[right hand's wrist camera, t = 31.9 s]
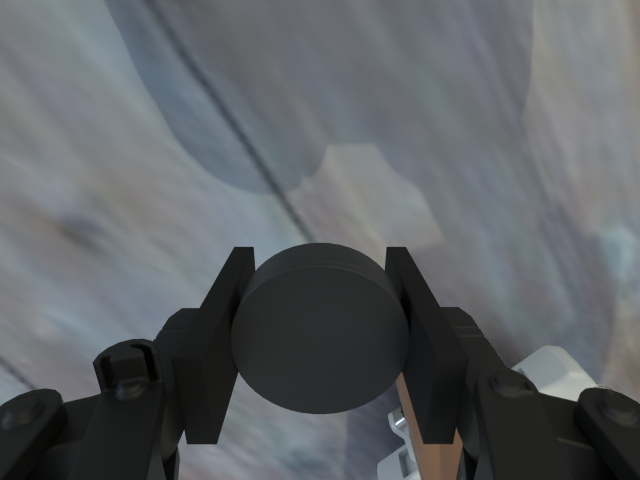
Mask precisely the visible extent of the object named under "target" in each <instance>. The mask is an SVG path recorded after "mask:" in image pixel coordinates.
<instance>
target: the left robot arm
mask: <svg viewBox="0 0 640 480" xmlns="http://www.w3.org/2000/svg"><path fill="white" fill-rule="evenodd" d="M511 369H512V370H515V371H517V372H519V373H520V374H522V375H524V376H526V377H527V378H528V379H529V380H530V381H532V382H533V383H534V385H535V386H536V388H537V389H538V391H539V392H540V393H544V394H547V395H551V396H555V397H559V398H564V399H568V400H572V401H577V400H578V397H579V395H580V393H581V392H582V391H583V390H584V389H586V388H592V387H598V388H605V389H610V388H608V387H606V386H604V385H599V384H596V383H595V382H594V381H593V379H592V378H591V377H590V376H589V375H588V374H587V373H586V372H585V371H584V370H583V369H582V367H581V366H580V365H579V364H578V363H577V362H576V361H575V360H574V359H573V358H572V357H571V356H570V355H569V354H568V353H567V352H566V351H565V350H564V349H563V348H562V347H560V346H550V345H545V346H542V347H540V348H539V349H538V350H536V351H535V352H533V353H532V354H531V355H529V356H528V357H526V358H525V359H524V360H522V361H521V362H519V363H518V364H517V365H515V366H514V367H512V368H511ZM610 390H612V389H610ZM388 419H389V423H390V427H391V429H392V430H393V432H394V433H396V434H397V435H399V436H400V437H401V438H403V439H404V440H405V444H404V445H403V446H402V447H400V448H399V449H397V450H396V451H394V452H393V453H392V454H390V455H389V456H387V457H386V458H385V459H383V460H382V461H380V462H379V463H378V466H377V476H378V480H421V479H420V475H419V471H418V467H417V463H416V460H415V456H414V452H413V448H412V444H411V440H410V437H409V433H408V429H407V425H406V421H405V417H404V414H403V410H402V406H401V405H400V406H398V407H397V408H396V409H394V410H393V411H392V412H390V413H389V414H388Z"/></svg>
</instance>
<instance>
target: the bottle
mask: <svg viewBox="0 0 640 480" xmlns="http://www.w3.org/2000/svg"><path fill="white" fill-rule="evenodd" d="M395 383H396V387H397V391H398V394H399V398H400V402H401V406H402V410H403V414H404V417H405V421H406V425H407V429H408V433H409V437H410V440H411V444H412V448H413V452H414V456H415V460H416V463H417V467H418V471H419V475H420V479H421V480H456V476H457V470H458V465H459V460H460V455H461V450H462V446H463V443H462V441H461V438H460V436H459V433H458V431H457V428H456V431H455V437H454V442H453V444H423V441H422V438H421V434H420V431H419V428H418V424H417V421H416V417H415V414H414V411H413V407H412V404H411V401H410V397H409V394H408V391H407V387H406V384H405V381H404V377H403V374H402V372H401V373H400V375H399V376H398V378H397V379H396V381H395ZM461 480H462V477H461Z"/></svg>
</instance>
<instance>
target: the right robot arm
mask: <svg viewBox="0 0 640 480" xmlns="http://www.w3.org/2000/svg"><path fill="white" fill-rule="evenodd" d="M385 272H386V274H387V275H388V276H389V278H390V279H391V281H392V283H393V285H394V287H395V289H396V292H397V294H398V297H399V299H400V302H401V305H402V307H403V310H404V312H405V315H406V318H407V320H408V323H409V329H410V342H409V351H408V358H407V361H406V364H405V366H404V368H403V370H402V374H403V377H404V381H405V384H406V387H407V391H408V394H409V397H410V401H411V404H412V407H413V411H414V414H415V417H416V421H417V424H418V428H419V431H420V434H421V438H422V441H423V444H453V442H454V437H455V431H456V428H457V431H458V433H459V436H460V438H461V441H462V443H463V446H462V450H461V455H460V460H459V465H458V470H457V476H456V480H461V477H462V480H640V404H639V403H638V402H636V401H634V400H633V399H631V398H629V397H627V396H625V395H623V394H621V393H618V392H615V391H613V390H610V389H605V388H598V387H592V388H586V389H584V390H583V391H582V392H581V393H580V395H579V397H578V400H577V401H572V400H568V399H564V398H559V397H555V396H551V395H547V394H544V393H540V392H539V391H538V389H537V388H536V386H535V385H534V383H533V382H532V381H530V380H529V379H528V378H527V377H526V376H524V375H522V374H520V373H519V372H517V371H515V370H512V369H509V368H506V366H505V365H504V364H503V362H502V361H501V359H500V358H499V356H498V355H497V353H496V352H495V351H494V349H493V348H492V346H491V345H490V343H489V342H488V340H487V339H486V338H484V335H483V333H482V332H481V330H480V329H478V326H477V324H476V323H475V321H474V320H473V319H472V317H471V316H470V315H468V314H467V313H466V312H464V311H463V310H462V309H460V308H459V307H440V306H439V304H438V303H437V301H436V299H435V297H434V296H433V294H432V292H431V290H430V289H429V287H428V285H427V283H426V282H425V280H424V278H423V276H422V275H421V273H420V271H419V269H418V268H417V266H416V264H415V262H414V261H413V259H412V257H411V255H410V254H409V252H408V250H407V248H406V247H387V249H386V263H385ZM254 273H255V260H254V247H234V249H233V250H232V252H231V254H230V256H229V257H228V259H227V261H226V263H225V264H224V266H223V268H222V270H221V271H220V273H219V275H218V277H217V278H216V280H215V282H214V284H213V285H212V287H211V289H210V291H209V292H208V294H207V296H206V298H205V299H204V301H203V303H202V305H201V306H200V308H182V309H180V310H179V311H178V312H176V313H175V314H173V315H172V316H171V317H169V319H168V320H167V322H166V323H165V325H164V326H163V328H162V330H161V331H160V332H159V333H158V335H157V336H156V339H154V341H153V342H152V341H150V340H146V339H131V340H127V341H123V342H120V343H117V344H115V345H113V346H111V347H109V348H107V349H106V350H104V351H103V352H102V353H100V354H99V355H98V356H97V358H96V359H95V360H94V362H93V365H94V369H95V372H96V376H97V379H98V383H99V386H100V389H101V394H98V395H95V396H91V397H87V398H83V399H79V400H74V401H70V402H66V403H64V402H63V400H62V397H61V394H60V393H58V392H57V391H56V390H52V389H46V388H45V389H39V390H32V391H30V392H27V393H24V394H21V395H18V396H16V397H15V398H13V399H11V400H9V401H7V402H6V403H4V404H3V405H1V406H0V480H178V474H179V463H180V457H179V450H178V446H177V445H178V443H179V440H180V438H181V436H182V433H183V431H184V430H185V435H186V441H187V444H217V442H218V438H219V435H220V432H221V428H222V425H223V422H224V418H225V415H226V411H227V408H228V405H229V401H230V398H231V395H232V391H233V388H234V385H235V381H236V378H237V374H238V370H237V368H236V365H235V363H234V361H233V357H232V349H231V339H230V329H231V325H232V321H233V318H234V315H235V313H236V310H237V308H238V305H239V303H240V300H241V298H242V295H243V293H244V290H245V288H246V285H247V283H248V281H249V280H250V278H251V276H252V275H253V274H254Z"/></svg>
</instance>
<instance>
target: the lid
mask: <svg viewBox="0 0 640 480" xmlns="http://www.w3.org/2000/svg"><path fill="white" fill-rule="evenodd" d="M230 339H231V349H232V357H233V361H234V363H235V365H236V368H237V370H238V371H239V373H240V375H241V376H242V378H243V379H244V380H245V381H246V383H247V384H248V385H249V386H250V387H251V388H252V389H253V390H254V391H255V392H257V393H258V394H259V395H261V396H262V397H263V398H265V399H267V400H268V401H270V402H272V403H274V404H276V405H278V406H280V407H283V408H286V409H289V410H292V411H297V412H301V413H309V414H331V413H338V412H344V411H348V410H351V409H355V408H357V407H360V406H362V405H365V404H367V403H368V402H370V401H372V400H374V399H375V398H377V397H378V396H380V395H381V394H383V393H384V392H385V391H386V390H387V389H388V388H389V387H390V386H391V385H392V384H393V383H394V382H395V381H396V379H397V378H398V376H399V375H400V373H401V372H402V370H403V368H404V366H405V364H406V361H407V358H408V351H409V342H410V329H409V323H408V320H407V318H406V315H405V312H404V310H403V307H402V305H401V302H400V299H399V297H398V294H397V292H396V289H395V287H394V285H393V283H392V281H391V279H390V278H389V276H388V275H387V274H386V272H385V271H384V270H383V269H382V268H381V267H380V266H379V265H378V264H377V263H376V262H375V261H373V260H372V259H371V258H369V257H368V256H366V255H364V254H363V253H361V252H359V251H357V250H354V249H352V248H349V247H346V246H342V245H338V244H331V243H310V244H303V245H298V246H294V247H291V248H289V249H286V250H283V251H281V252H279V253H278V254H276V255H274V256H272V257H271V258H270V259H268V260H267V261H265V262H264V263H263V264H262V265H261V266H260V267H259V268H258V269H257V270H256V271H255V273H254V274H253V275H252V276H251V278H250V280H249V281H248V283H247V285H246V288H245V290H244V293H243V295H242V298H241V300H240V303H239V305H238V308H237V310H236V313H235V315H234V318H233V321H232V325H231V329H230Z"/></svg>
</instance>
